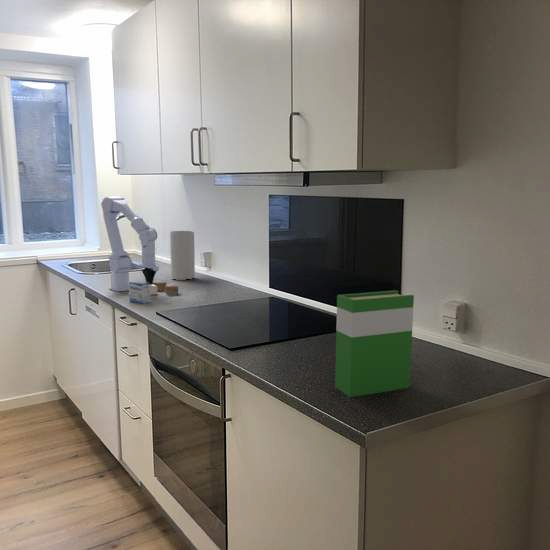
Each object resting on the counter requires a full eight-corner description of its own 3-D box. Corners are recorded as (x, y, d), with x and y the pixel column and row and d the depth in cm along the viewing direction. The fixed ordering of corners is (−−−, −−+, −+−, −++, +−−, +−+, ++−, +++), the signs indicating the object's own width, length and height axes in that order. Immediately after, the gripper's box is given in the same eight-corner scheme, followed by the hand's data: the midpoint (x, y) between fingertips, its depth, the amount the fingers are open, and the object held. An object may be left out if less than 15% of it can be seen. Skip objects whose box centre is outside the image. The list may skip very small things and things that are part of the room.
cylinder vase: (173, 276, 322) (172, 230, 318) (196, 276, 321) (196, 230, 317) (168, 280, 310) (167, 232, 306) (192, 280, 309) (191, 233, 305)
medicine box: (129, 301, 254) (128, 282, 253) (136, 300, 258) (135, 280, 257) (143, 303, 251) (142, 283, 250) (150, 301, 255) (149, 282, 253)
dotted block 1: (151, 290, 282) (151, 281, 281) (159, 289, 286) (159, 280, 285) (158, 291, 279) (158, 282, 278) (166, 290, 283) (166, 281, 282)
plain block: (142, 293, 273) (142, 285, 273) (152, 292, 276) (152, 284, 276) (147, 295, 269) (146, 286, 269) (157, 294, 272) (157, 285, 272)
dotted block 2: (165, 293, 275) (164, 284, 274) (175, 292, 277) (175, 283, 276) (167, 295, 270) (167, 286, 269) (178, 294, 272) (178, 285, 271)
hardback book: (392, 378, 158) (396, 290, 154) (409, 387, 151) (413, 295, 147) (334, 387, 151) (337, 295, 147) (349, 397, 144) (352, 300, 140)
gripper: (164, 256, 267) (165, 285, 269) (149, 253, 278) (150, 281, 280) (150, 257, 263) (151, 287, 265) (135, 254, 274) (136, 283, 276)
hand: (149, 284), depth 272 cm, fingers closed
